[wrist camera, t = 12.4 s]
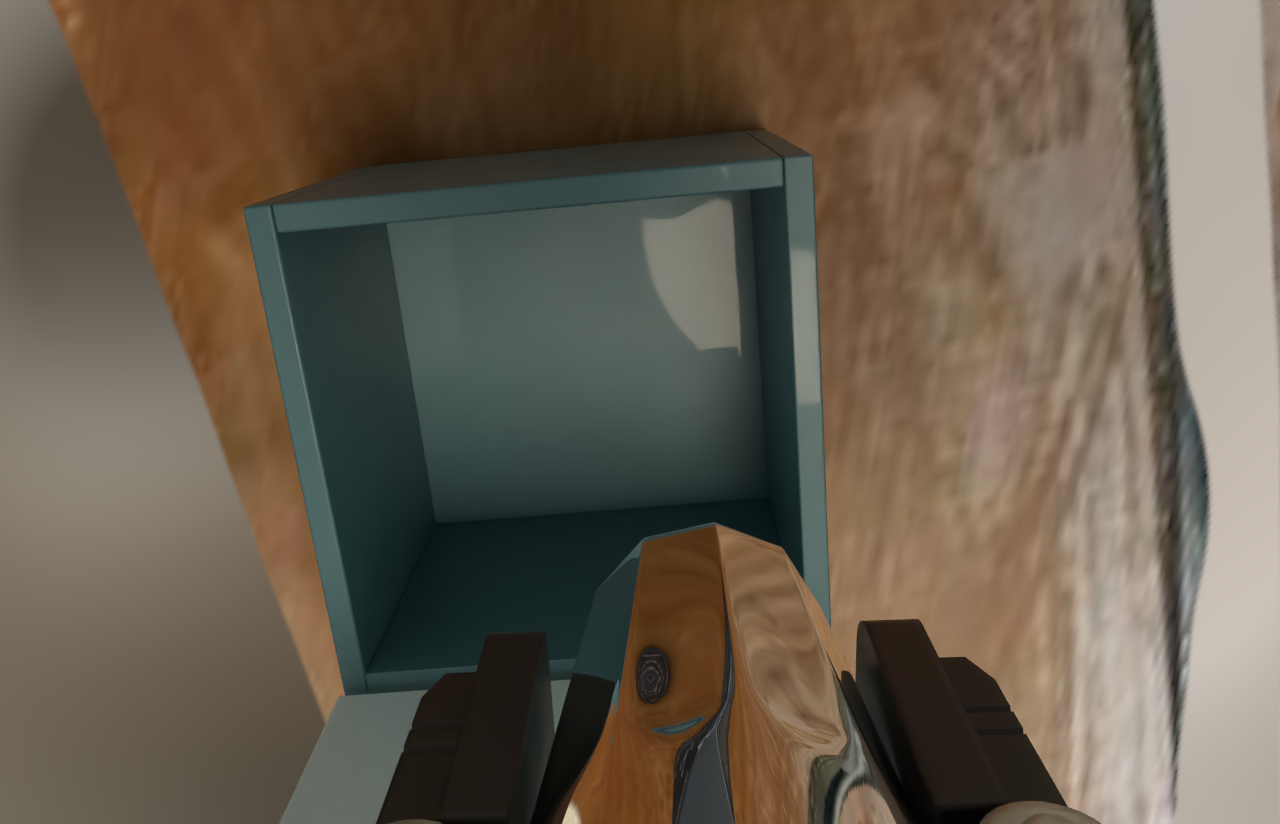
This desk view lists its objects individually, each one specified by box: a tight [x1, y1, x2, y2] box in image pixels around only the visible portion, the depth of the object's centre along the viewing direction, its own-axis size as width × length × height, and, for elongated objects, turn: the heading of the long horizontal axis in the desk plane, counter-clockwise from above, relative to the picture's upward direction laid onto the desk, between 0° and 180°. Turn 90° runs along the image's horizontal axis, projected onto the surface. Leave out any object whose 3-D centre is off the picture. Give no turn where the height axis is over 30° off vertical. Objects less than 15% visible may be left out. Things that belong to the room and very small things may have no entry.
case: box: [244, 129, 831, 696], centre depth 36 cm, size 16×16×12 cm
